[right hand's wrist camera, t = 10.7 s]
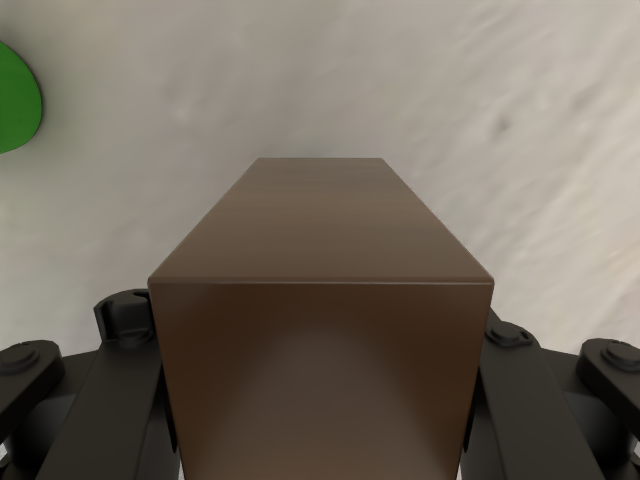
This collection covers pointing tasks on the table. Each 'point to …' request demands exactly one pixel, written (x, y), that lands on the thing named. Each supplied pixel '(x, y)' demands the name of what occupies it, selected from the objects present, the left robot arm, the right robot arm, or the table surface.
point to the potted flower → (17, 101)
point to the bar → (320, 329)
